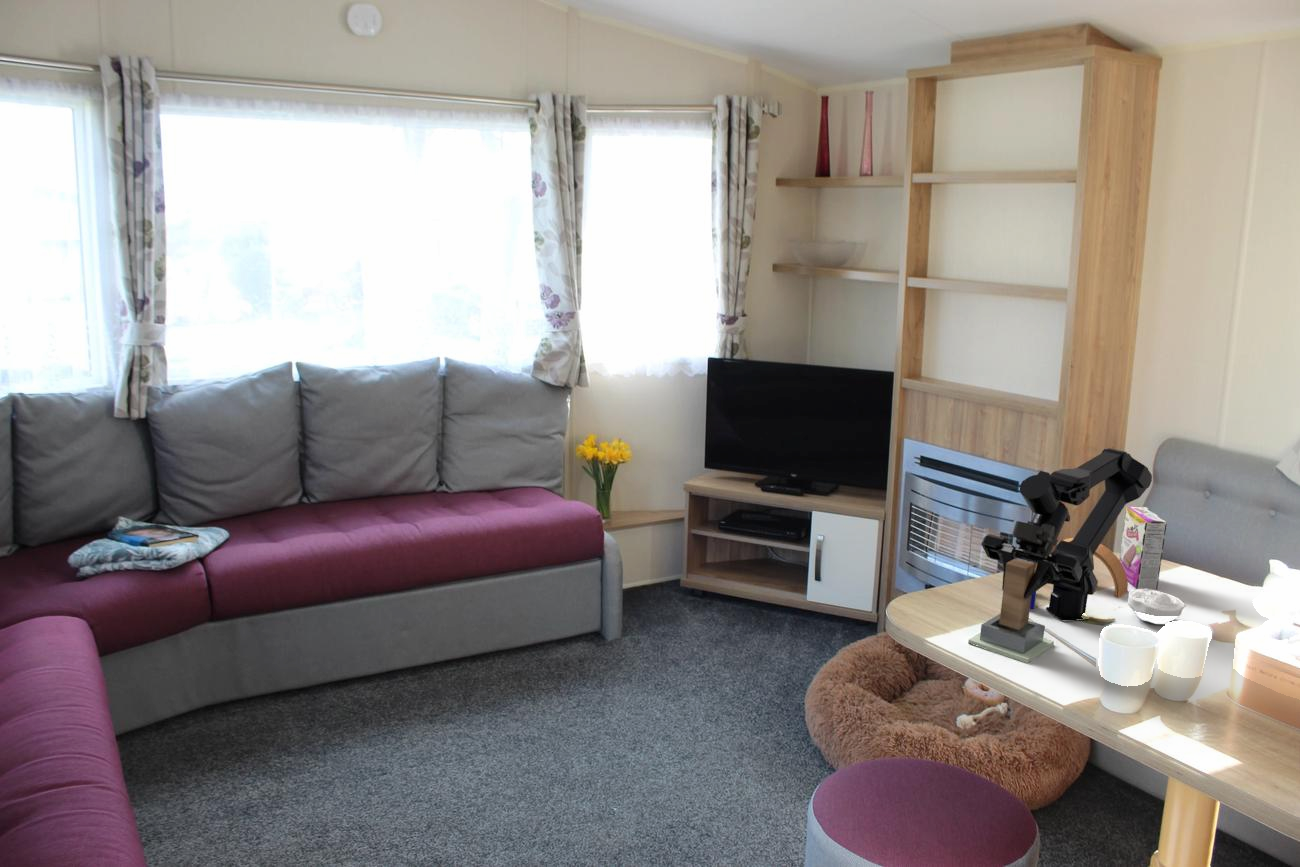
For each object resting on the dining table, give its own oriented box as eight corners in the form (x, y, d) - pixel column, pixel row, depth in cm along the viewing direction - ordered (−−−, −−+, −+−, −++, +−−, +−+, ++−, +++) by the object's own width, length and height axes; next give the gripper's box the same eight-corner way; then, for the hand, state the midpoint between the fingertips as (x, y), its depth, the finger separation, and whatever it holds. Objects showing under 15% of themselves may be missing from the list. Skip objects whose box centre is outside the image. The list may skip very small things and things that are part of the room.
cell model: (1160, 609, 235) (1165, 580, 234) (1191, 632, 224) (1196, 601, 222) (1115, 609, 235) (1119, 579, 233) (1143, 632, 223) (1148, 601, 221)
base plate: (995, 626, 223) (996, 622, 223) (1053, 645, 215) (1054, 641, 215) (968, 643, 214) (968, 639, 214) (1027, 663, 206) (1027, 659, 206)
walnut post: (1008, 618, 216) (1015, 558, 213) (1028, 624, 214) (1035, 563, 211) (999, 623, 213) (1006, 563, 210) (1018, 629, 211) (1026, 568, 208)
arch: (1040, 568, 258) (1045, 528, 256) (1127, 592, 245) (1133, 549, 243) (1030, 575, 254) (1035, 533, 251) (1118, 598, 241) (1124, 555, 239)
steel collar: (1000, 627, 220) (1001, 612, 220) (1043, 640, 215) (1045, 625, 214) (979, 639, 214) (981, 624, 213) (1023, 654, 208) (1025, 638, 207)
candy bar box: (1115, 572, 257) (1125, 505, 253) (1137, 573, 257) (1147, 506, 253) (1135, 590, 246) (1146, 520, 242) (1158, 591, 246) (1168, 521, 242)
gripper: (990, 494, 217) (958, 560, 212) (1084, 516, 205) (1052, 587, 200) (1004, 524, 225) (973, 588, 219) (1095, 547, 212) (1065, 615, 207)
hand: (1014, 594), depth 211 cm, fingers closed on walnut post, 4 cm apart
